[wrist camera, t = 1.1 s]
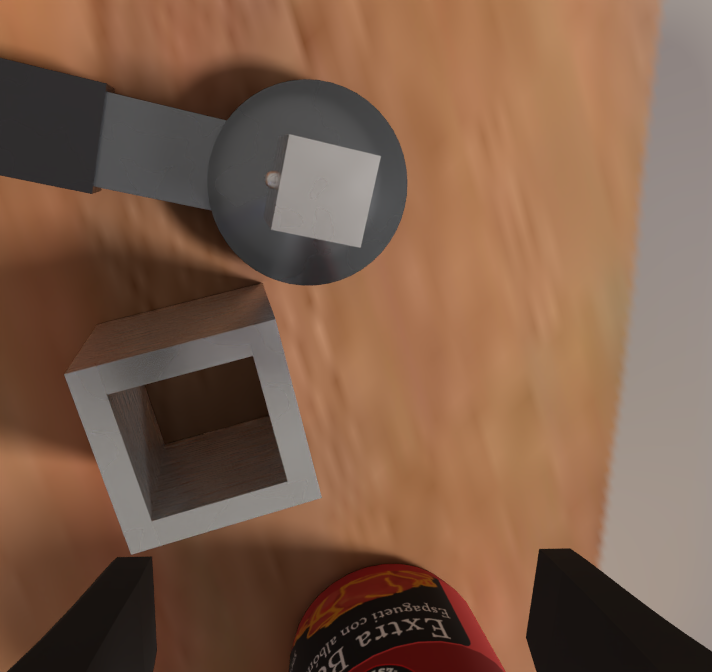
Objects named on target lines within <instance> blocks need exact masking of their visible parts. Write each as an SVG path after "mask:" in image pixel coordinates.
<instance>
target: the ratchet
mask: <svg viewBox="0 0 712 672" xmlns="http://www.w3.org/2000/svg"><path fill="white" fill-rule="evenodd" d="M114 91H115V88H113V87H111V86H110V85H108V84H106V83H102V82H98V81H94V80H89V79H85V78H81V77H77V76H73V75H69V74H65V73H61V72H56V71H52V70H48V69H44V68H40V67H36V66H32V65H28V64H23V63H19V62H15V61H11V60H7V59H3V58H0V175H1V176H6V177H11V178H16V179H21V180H26V181H31V182H36V183H41V184H46V185H51V186H56V187H60V188H65V189H70V190H75V191H80V192H85V193H90V194H93V193H96V192H99V191H101V188H104V189H109V190H114V191H119V192H124V193H129V194H134V195H139V196H143V197H148V198H153V199H158V200H163V201H168V202H173V203H178V204H182V205H187V206H192V207H197V208H202V209H207V210H212V214H213V217H214V220H215V222H216V224H217V226H218V229H219V231H220V233H221V234H222V236H223V237H224V239H225V241H226V242H227V244H228V245H229V246H230V247H231V249H232V250H233V251H234V252H235V253H236V254H237V255H238V256H239V257H240V258H241V259H242V260H243V261H244V262H245V263H246V264H248V265H249V266H251V267H252V268H253V269H255V270H256V271H258V272H260V273H262V274H264V275H265V276H267V277H270V278H272V279H275V280H278V281H281V282H285V283H289V284H296V285H321V284H328V283H332V282H335V281H339V280H342V279H344V278H346V277H349V276H351V275H353V274H355V273H356V272H358V271H360V270H362V269H363V268H364V267H366V266H367V265H368V264H370V263H371V262H372V261H373V260H374V259H375V258H376V257H377V256H378V255H379V254H380V253H381V252H382V251H383V250H384V248H385V247H386V246H387V245H388V243H389V242H390V240H391V239H392V237H393V235H394V234H395V232H396V230H397V227H398V225H399V223H400V221H401V218H402V214H403V211H404V208H405V202H406V196H407V171H406V165H405V160H404V155H403V152H402V149H401V146H400V143H399V141H398V139H397V137H396V135H395V133H394V131H393V129H392V128H391V126H390V125H389V123H388V122H387V120H386V119H385V118H384V117H383V116H382V114H381V113H380V112H379V111H378V110H377V109H376V108H375V107H374V106H373V105H372V104H371V103H369V102H368V101H367V100H366V99H364V98H363V97H361V96H360V95H358V94H357V93H355V92H353V91H351V90H349V89H347V88H345V87H343V86H340V85H337V84H334V83H331V82H325V81H320V80H306V79H304V80H293V81H287V82H283V83H279V84H276V85H273V86H271V87H268V88H266V89H264V90H262V91H260V92H258V93H256V94H255V95H253V96H252V97H250V98H249V99H248V100H246V101H245V102H244V103H242V104H241V105H240V106H239V107H238V108H237V109H236V110H235V111H234V112H233V113H232V115H231V116H230V117H229V119H228V120H227V121H226V120H222V119H218V118H214V117H210V116H206V115H201V114H197V113H193V112H189V111H185V110H181V109H176V108H172V107H168V106H164V105H160V104H155V103H151V102H147V101H143V100H139V99H135V98H130V97H126V96H122V95H118V94H114Z"/></svg>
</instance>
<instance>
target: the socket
mask: <svg viewBox="0 0 712 672" xmlns="http://www.w3.org/2000/svg"><path fill="white" fill-rule="evenodd" d="M251 356H253V357H254V361H255V365H256V368H257V372H258V376H259V379H260V383H261V386H262V390H263V394H264V397H265V401H266V405H267V408H268V412H269V416H265V417H262V418H258V419H254V420H251V421H247V422H244V423H240V424H236V425H233V426H229V427H226V428H222V429H219V430H215V431H211V432H208V433H204V434H201V435H197V436H193V437H190V438H186V439H183V440H179V441H176V442H172V443H168V444H164V441H163V438H162V435H161V432H160V429H159V426H158V423H157V420H156V417H155V414H154V411H153V408H152V405H151V402H150V399H149V396H148V393H147V390H146V387H145V384H149V383H153V382H157V381H160V380H164V379H168V378H172V377H175V376H179V375H183V374H187V373H190V372H194V371H198V370H202V369H205V368H209V367H213V366H217V365H220V364H224V363H228V362H232V361H235V360H239V359H243V358H247V357H251ZM64 376H65V378H66V381H67V384H68V386H69V389H70V392H71V394H72V397H73V400H74V402H75V405H76V408H77V410H78V413H79V416H80V419H81V421H82V424H83V427H84V429H85V432H86V435H87V437H88V440H89V443H90V445H91V448H92V451H93V453H94V456H95V459H96V461H97V464H98V467H99V470H100V472H101V475H102V478H103V480H104V483H105V486H106V488H107V491H108V494H109V496H110V499H111V502H112V504H113V507H114V510H115V513H116V515H117V518H118V521H119V523H120V526H121V529H122V531H123V534H124V537H125V539H126V542H127V545H128V547H129V550H130V553H131V555H132V554H135V553H139V552H142V551H145V550H149V549H152V548H155V547H159V546H162V545H165V544H169V543H172V542H175V541H179V540H182V539H185V538H189V537H192V536H195V535H199V534H202V533H206V532H209V531H212V530H216V529H219V528H222V527H226V526H229V525H232V524H236V523H239V522H242V521H246V520H249V519H252V518H256V517H259V516H262V515H266V514H269V513H273V512H276V511H279V510H283V509H286V508H289V507H293V506H296V505H299V504H303V503H306V502H309V501H313V500H316V499H319V498H322V497H321V493H320V489H319V485H318V481H317V477H316V474H315V470H314V466H313V462H312V458H311V454H310V451H309V447H308V443H307V439H306V435H305V431H304V427H303V424H302V420H301V416H300V412H299V408H298V404H297V401H296V397H295V393H294V389H293V385H292V381H291V377H290V374H289V370H288V366H287V362H286V358H285V354H284V351H283V347H282V343H281V339H280V335H279V331H278V328H277V324H276V320H275V317H274V314H273V311H272V309H271V306H270V303H269V300H268V297H267V295H266V292H265V289H264V286H263V283H260V284H256V285H252V286H248V287H244V288H240V289H236V290H232V291H228V292H225V293H221V294H217V295H213V296H209V297H205V298H201V299H197V300H193V301H189V302H185V303H181V304H177V305H173V306H169V307H165V308H161V309H157V310H153V311H149V312H145V313H141V314H137V315H133V316H129V317H125V318H121V319H117V320H113V321H109V322H105V323H101V324H98V325H97V326H96V327H95V329H94V330H93V332H92V333H91V335H90V336H89V338H88V339H87V341H86V342H85V344H84V345H83V347H82V348H81V350H80V351H79V353H78V354H77V356H76V357H75V359H74V360H73V362H72V363H71V365H70V366H69V368H68V369H67V371H66V372H65V374H64Z"/></svg>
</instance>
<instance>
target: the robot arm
mask: <svg viewBox="0 0 712 672" xmlns="http://www.w3.org/2000/svg"><path fill="white" fill-rule="evenodd" d="M526 639H527V642H528V645H529V649H530V652H531V655H532V658H533V662H534V665H535V668H536V671H537V672H712V651H710V650H709V649H707V648H706V647H704V646H703V645H701V644H700V643H698V642H697V641H695V640H694V639H692V638H691V637H689V636H688V635H687V634H685V633H684V632H682V631H681V630H679V629H678V628H677V627H675V626H674V625H672V624H671V623H669V622H668V621H667V620H665V619H664V618H663V617H661V616H660V615H658V614H657V613H656V612H654V611H653V610H651V609H650V608H649V607H648V606H646V605H645V604H643V603H642V602H641V601H640V600H638V599H637V598H636V597H634V596H633V595H631V594H630V593H629V592H628V591H626V590H625V589H624V588H622V587H621V586H620V585H619V584H617V583H616V582H615V581H613V580H612V579H611V578H609V577H608V576H607V575H606V574H604V573H603V572H602V571H600V570H599V569H598V568H596V567H595V566H594V565H592V564H591V563H590V562H588V561H587V560H586V559H584V558H583V557H582V556H580V555H579V554H577V553H576V552H574V551H573V550H572V549H570V548H569V549H539V554H538V561H537V567H536V574H535V581H534V587H533V594H532V601H531V607H530V614H529V621H528V627H527V634H526ZM156 652H157V643H156V623H155V604H154V585H153V566H152V557H117V558H116V559H115V560H114V561H113V562H111V563H110V565H109V566H108V567H107V568H106V569H105V570H104V571H103V573H102V574H101V575H100V576H99V577H98V578H97V579H96V580H95V582H94V583H93V584H92V585H91V586H90V587H89V588H88V590H87V591H86V592H85V593H84V594H83V595H82V596H81V597H80V598H79V600H78V601H77V602H76V603H75V604H74V605H73V606H72V607H71V608H70V609H69V610H68V611H67V613H66V614H65V615H64V616H63V617H62V618H61V619H60V620H59V621H58V622H57V623H56V624H55V625H54V626H53V627H52V628H51V629H50V630H49V631H48V632H47V633H46V634H45V636H44V637H43V638H42V639H41V640H40V641H39V642H38V643H37V644H36V645H35V646H34V647H33V648H31V649H30V650H29V651H28V652H27V653H26V654H25V655H24V656H23V657H22V658H21V659H20V660H19V661H18V662H17V663H16V664H15V665H14V666H13V667H11V668H10V669H9V670H8V671H7V672H153V669H154V664H155V658H156Z"/></svg>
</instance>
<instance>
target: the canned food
mask: <svg viewBox="0 0 712 672" xmlns="http://www.w3.org/2000/svg"><path fill="white" fill-rule="evenodd" d="M289 672H505V670H504V668H503V666H502V665H501V663H500V661H499V659H498V657H497V656H496V654H495V652H494V650H493V649H492V647H491V645H490V643H489V642H488V640H487V638H486V636H485V634H484V633H483V631H482V629H481V627H480V626H479V624H478V622H477V620H476V618H475V617H474V615H473V613H472V611H471V610H470V608H469V606H468V604H467V602H466V601H465V600H464V599H463V598H462V597H461V596H460V595H459V593H458V592H457V591H456V590H455V589H453V588H452V587H451V586H449V585H448V584H447V583H446V582H444V581H443V580H441V579H440V578H438V577H437V576H436V575H434V574H433V573H431V572H428V571H426V570H423V569H421V568H418V567H414V566H409V565H404V564H381V565H376V566H371V567H366V568H363V569H360V570H358V571H355V572H353V573H350V574H348V575H346V576H344V577H343V578H341V579H339V580H338V581H336V582H334V583H333V584H331V585H330V586H329V587H328V588H327V589H326V590H324V591H323V592H322V593H321V594H320V595H319V596H318V597H317V598H316V599H315V601H314V602H313V603H312V604H311V605H310V607H309V608H308V609H307V611H306V613H305V615H304V616H303V618H302V620H301V622H300V624H299V626H298V629H297V633H296V636H295V639H294V643H293V647H292V651H291V655H290V665H289Z"/></svg>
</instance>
